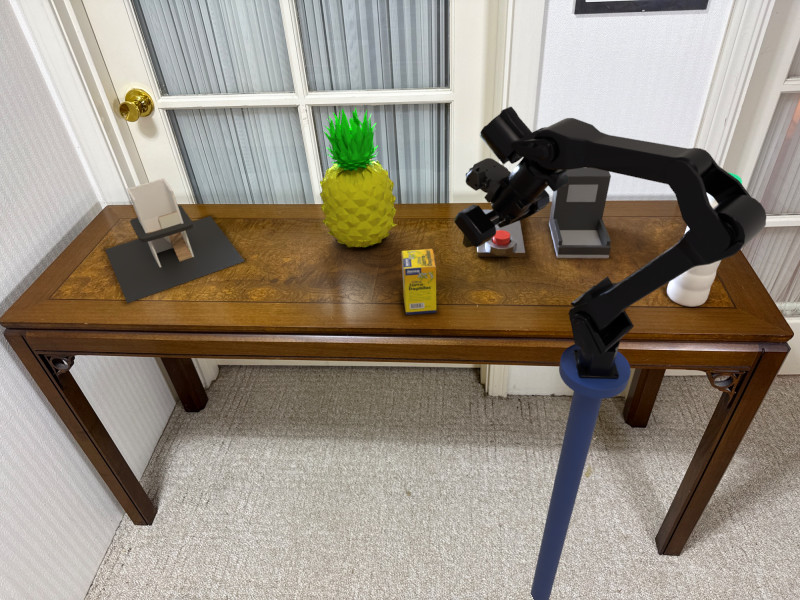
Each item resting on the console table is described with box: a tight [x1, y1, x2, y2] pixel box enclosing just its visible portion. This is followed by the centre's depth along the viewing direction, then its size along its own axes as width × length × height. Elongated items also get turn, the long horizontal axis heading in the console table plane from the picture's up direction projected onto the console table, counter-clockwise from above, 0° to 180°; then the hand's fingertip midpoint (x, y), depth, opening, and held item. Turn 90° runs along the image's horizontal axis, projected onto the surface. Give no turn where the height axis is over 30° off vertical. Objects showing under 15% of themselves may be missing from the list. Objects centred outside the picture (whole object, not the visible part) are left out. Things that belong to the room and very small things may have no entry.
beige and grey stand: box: [104, 177, 245, 304], centre depth 122 cm, size 25×24×16 cm
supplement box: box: [400, 248, 437, 316], centre depth 106 cm, size 6×6×11 cm
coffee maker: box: [548, 168, 612, 259], centre depth 120 cm, size 14×11×14 cm
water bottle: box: [666, 171, 743, 308], centre depth 100 cm, size 7×7×25 cm
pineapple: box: [319, 106, 397, 248], centre depth 120 cm, size 17×17×30 cm
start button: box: [493, 230, 510, 246], centre depth 120 cm, size 4×4×2 cm
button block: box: [476, 209, 526, 258], centre depth 126 cm, size 19×10×3 cm, turn 176°
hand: (482, 235), depth 103 cm, fingers open, 9 cm apart
